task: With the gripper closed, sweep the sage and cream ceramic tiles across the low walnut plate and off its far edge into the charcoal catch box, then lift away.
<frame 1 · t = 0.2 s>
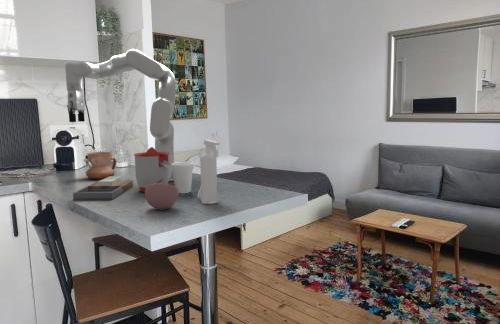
hand: (77, 121, 195), 31 cm above the countertop, tool pointing down, fingers open, 9 cm apart
ceramic jug: (101, 178, 205), on the countertop
sage tile: (113, 181, 178), point 3 cm above the countertop, touching walnut plate
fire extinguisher: (208, 202, 150), on the countertop
foam cup: (183, 193, 168), on the countertop
walnut plate: (111, 189, 175), on the countertop
cream tile: (108, 184, 172), point 3 cm above the countertop, touching walnut plate
catch box: (99, 196, 161), on the countertop
apple: (162, 209, 140), on the countertop
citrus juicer: (154, 190, 173), on the countertop
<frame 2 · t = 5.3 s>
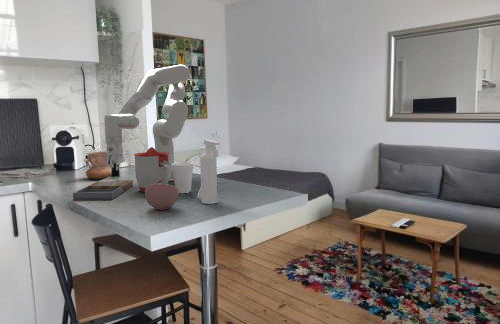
hand: (115, 178, 182), 4 cm above the countertop, tool pointing down, fingers closed
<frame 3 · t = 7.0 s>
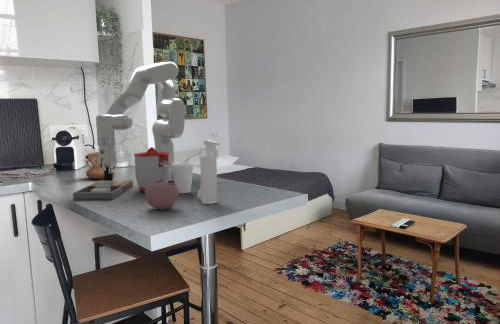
hand: (108, 181, 172), 4 cm above the countertop, tool pointing down, fingers closed
sage tile: (105, 186, 168), point 3 cm above the countertop
cream tile: (101, 193, 164), point 1 cm above the countertop, touching catch box
everything else where it was.
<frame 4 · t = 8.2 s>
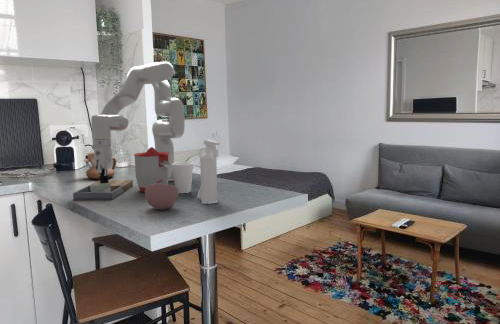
hand: (104, 184, 167), 4 cm above the countertop, tool pointing down, fingers closed
sage tile: (100, 188, 163), point 3 cm above the countertop, touching gripper
everything else where it was.
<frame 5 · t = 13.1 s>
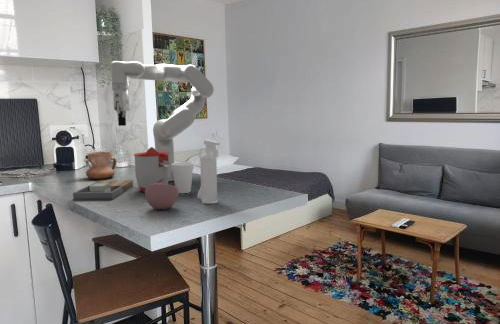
hand: (122, 125, 185), 29 cm above the countertop, tool pointing down, fingers closed
sage tile: (99, 189, 162), point 3 cm above the countertop, touching cream tile
cream tile: (101, 193, 164), point 1 cm above the countertop, touching catch box, sage tile
everything else where it was.
at the end: cream tile inside the target area on the catch box (2.6 cm from its centre), point 0.8 cm above the catch box's base; sage tile inside the target area on the catch box (1.4 cm from its centre), point 2.8 cm above the catch box's base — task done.
